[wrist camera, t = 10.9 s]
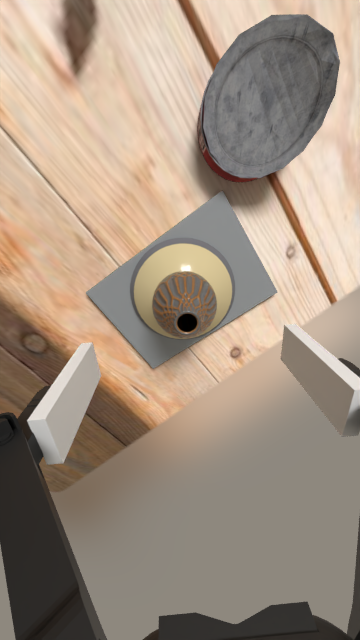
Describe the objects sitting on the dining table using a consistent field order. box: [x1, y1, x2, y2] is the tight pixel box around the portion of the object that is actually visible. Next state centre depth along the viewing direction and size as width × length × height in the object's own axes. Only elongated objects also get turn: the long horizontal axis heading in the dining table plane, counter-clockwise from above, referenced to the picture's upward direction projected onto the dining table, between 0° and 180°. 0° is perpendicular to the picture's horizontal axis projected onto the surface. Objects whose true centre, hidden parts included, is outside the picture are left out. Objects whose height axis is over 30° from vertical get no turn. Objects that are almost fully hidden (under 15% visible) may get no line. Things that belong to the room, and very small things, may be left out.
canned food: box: [198, 15, 340, 182], centre depth 22 cm, size 11×10×10 cm
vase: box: [152, 271, 217, 338], centre depth 25 cm, size 7×7×9 cm
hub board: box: [86, 190, 277, 369], centre depth 30 cm, size 14×20×2 cm
